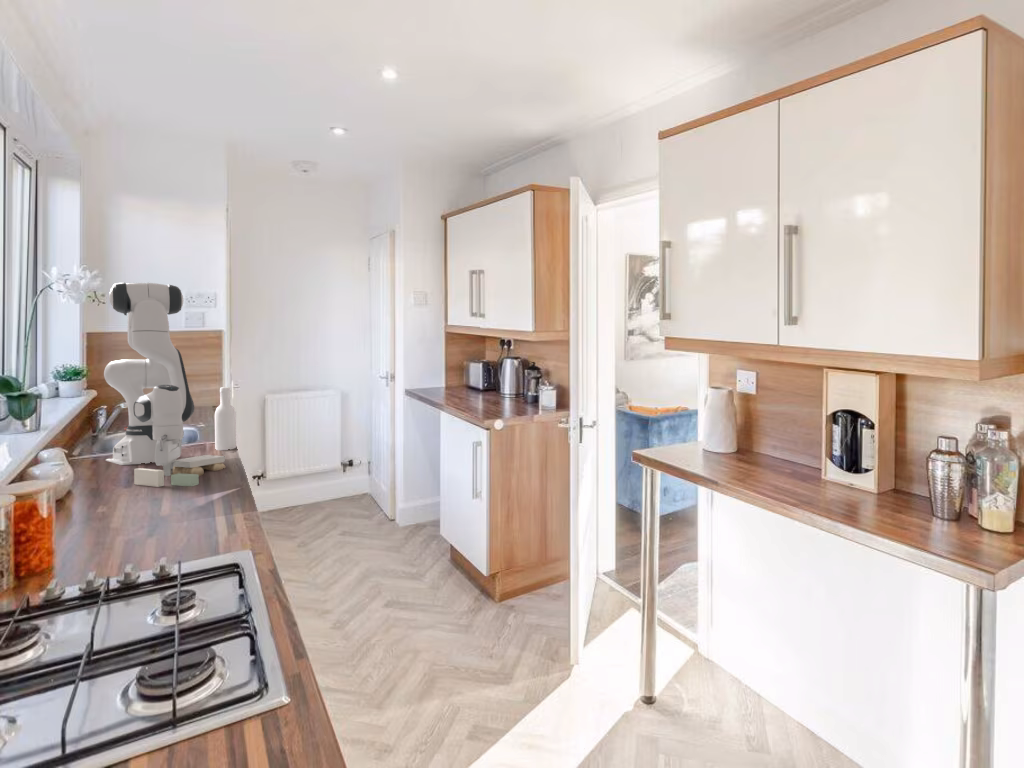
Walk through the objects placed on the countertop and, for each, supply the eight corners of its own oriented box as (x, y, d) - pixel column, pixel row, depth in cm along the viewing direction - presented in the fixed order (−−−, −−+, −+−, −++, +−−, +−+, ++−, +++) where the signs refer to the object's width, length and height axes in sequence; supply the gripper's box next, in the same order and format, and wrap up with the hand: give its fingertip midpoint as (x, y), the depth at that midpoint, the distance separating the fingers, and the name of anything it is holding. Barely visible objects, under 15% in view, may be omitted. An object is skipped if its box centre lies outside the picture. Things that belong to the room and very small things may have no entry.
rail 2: (191, 473, 210) (191, 462, 210) (201, 471, 214) (200, 460, 214) (216, 475, 206) (216, 464, 205) (225, 473, 209) (225, 462, 209)
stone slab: (171, 466, 201) (171, 460, 201) (206, 460, 214) (206, 454, 214) (190, 467, 198) (190, 461, 198) (224, 461, 211) (224, 456, 211)
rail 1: (168, 477, 202) (168, 466, 202) (178, 475, 205) (178, 464, 205) (193, 480, 197) (193, 468, 197) (204, 478, 201) (203, 466, 201)
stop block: (134, 484, 190) (134, 469, 190) (140, 483, 192) (140, 468, 192) (158, 486, 186) (158, 471, 186) (164, 485, 188) (163, 470, 188)
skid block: (171, 485, 189) (170, 474, 189) (178, 483, 192) (178, 473, 192) (191, 486, 187) (191, 476, 187) (198, 485, 190) (198, 474, 190)
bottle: (215, 462, 235) (214, 387, 234) (214, 459, 242) (213, 387, 241) (237, 461, 238) (236, 387, 237) (236, 458, 245) (235, 387, 244)
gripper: (172, 436, 186) (172, 479, 186) (184, 430, 205) (185, 469, 206) (149, 437, 184) (150, 481, 184) (164, 430, 203) (164, 470, 204)
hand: (168, 474), depth 195 cm, fingers closed
